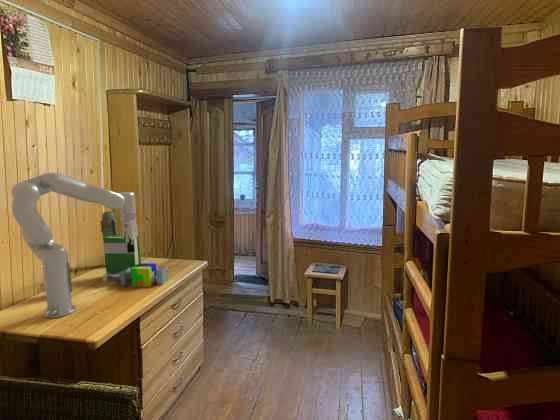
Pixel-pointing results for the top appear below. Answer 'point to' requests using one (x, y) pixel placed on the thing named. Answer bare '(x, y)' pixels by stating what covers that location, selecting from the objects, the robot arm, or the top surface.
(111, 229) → the stone tower
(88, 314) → the top surface
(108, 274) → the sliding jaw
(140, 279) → the puzzle toy
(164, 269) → the vise body
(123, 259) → the hardback book
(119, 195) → the robot arm
